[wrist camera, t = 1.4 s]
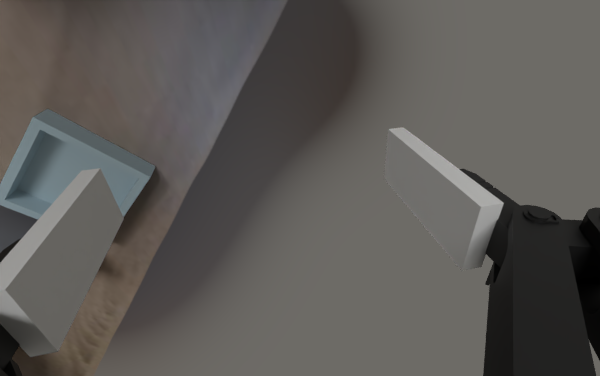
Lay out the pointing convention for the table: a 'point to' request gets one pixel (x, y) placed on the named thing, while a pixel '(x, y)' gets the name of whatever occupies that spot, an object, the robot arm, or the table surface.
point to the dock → (13, 226)
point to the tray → (67, 166)
